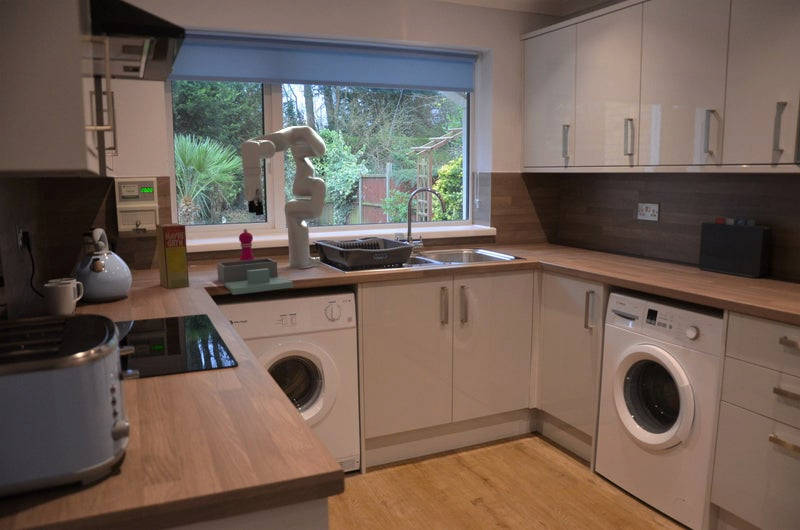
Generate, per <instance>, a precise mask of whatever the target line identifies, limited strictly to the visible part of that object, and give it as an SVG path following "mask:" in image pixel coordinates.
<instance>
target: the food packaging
mask: <svg viewBox="0 0 800 530" xmlns="http://www.w3.org/2000/svg"><path fill="white" fill-rule="evenodd" d="M155 231H156V232H155V233H156V245H157V258H158V271H159V285H161V287H163V288H165V289H166V290H171V289H178V288H179V289H180V288H186V287H187V288H188V287H190V279H189V278H190V277H189V266H188V263H189V262H188V252H187V251H188V250H187V235H186V231H187V230H186V225H184V224H179V223H177V222H175V223H173V222H172V223H159V224H155Z"/></svg>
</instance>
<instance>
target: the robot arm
mask: <svg viewBox="0 0 800 530" xmlns="http://www.w3.org/2000/svg"><path fill="white" fill-rule="evenodd" d="M288 149H290V153H291V155H292V158H293V160H294V164H295V174H294V179H293V183H292V190H291V191H292V195H293V196H294V197H295V198H294V199H290V200H288V201H286V202H285V204H284V214H285V218H286V219H285V220H286V227H287V238H288V256H289V257H288V259H289V263H288V264H286V268H296V269H298V270H302V269H303V270H305V269H309V268H313V267H314V262H315V263H316V262H317V263H318V262H320V261H321V257H320V256H319V257H318V256H317V257H312V256H311V255H310V252H311V251H310V236H309V235H310V230H309V226H308V224H307V223H306V221H317V220H319V219H320V218H321V216H322V214H323V209H324V205H325V199H326V195H327V194H326V193H327V184H326V181H324V179H322V178H320V177H314V176H315V168H314V165H313V164H312V162H311V161H310V159H312V158H313V159H315V158H316V159H318V158H322V157H324V156H325V155H326V152H327V147H326V143H325V141H324V140H323V138H322V137H321V136H320V135H319V134H318V133H317V132H316V131H315V130H314V129H313V128H312V127H310V126H308V125H298V126H297V125H294V126H288V127H286V128H282V129H281V130H278V131H276V132H271V133H268V134H264V135H261V136H256V137H253V138H250V139H248V140H246V141H243V142H241V145H240V152H241V163H242V174H243V175H242V176H243V177H244V197H245V199H246V200H247V206H248V207H247V208H248V209H247V210H248V214H254V213H255V216H262V215H264V214H265V213H264V203H263V197H264V195H263V194H264V193H263V185H262V178H261V176H263V169H262V160H264V159H265V160H266V159H271V158H273V157H274V156H275V155H276V153H280V152H284V151H286V150H288Z"/></svg>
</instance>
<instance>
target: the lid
mask: <svg viewBox="0 0 800 530" xmlns="http://www.w3.org/2000/svg"><path fill="white" fill-rule="evenodd" d="M224 287H225V288H227V289H228V292H229V293H230V294H231V295H233V296H235V295H243V294H251V293H260V292H269V291H275V290H283V289H290V288H291V289H293V288H294V281H293V280H290V279H288V278H286V277H284V276H278V277H274V278H269V269H267V268H265V269H255V270H247V281H238V282H229V283H225V284H224Z"/></svg>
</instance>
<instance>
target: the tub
mask: <svg viewBox="0 0 800 530" xmlns="http://www.w3.org/2000/svg"><path fill="white" fill-rule="evenodd" d="M265 268H267V269H269V278H274V277H279V276H278V261H276V260H274V259H272V258H269V257H267V258H257V259H255V258H254V260H243V261H240V260H234V261H224V262H222V261H221V262H216V269H217V271H216V272H217V280H218V281H219V282H220V283H222V284H224V285H225V283H229V282H238V281H247V270H255V269H265Z"/></svg>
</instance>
